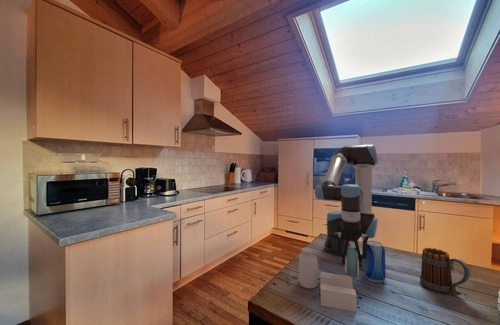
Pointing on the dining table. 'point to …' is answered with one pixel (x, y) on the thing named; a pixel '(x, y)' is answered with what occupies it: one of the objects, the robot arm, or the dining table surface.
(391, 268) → the dining table surface
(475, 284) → the dining table surface
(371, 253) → the beer can
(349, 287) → the socket
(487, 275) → the dining table surface
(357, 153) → the robot arm
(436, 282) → the mug
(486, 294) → the dining table surface
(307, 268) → the pill bottle
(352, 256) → the peg
